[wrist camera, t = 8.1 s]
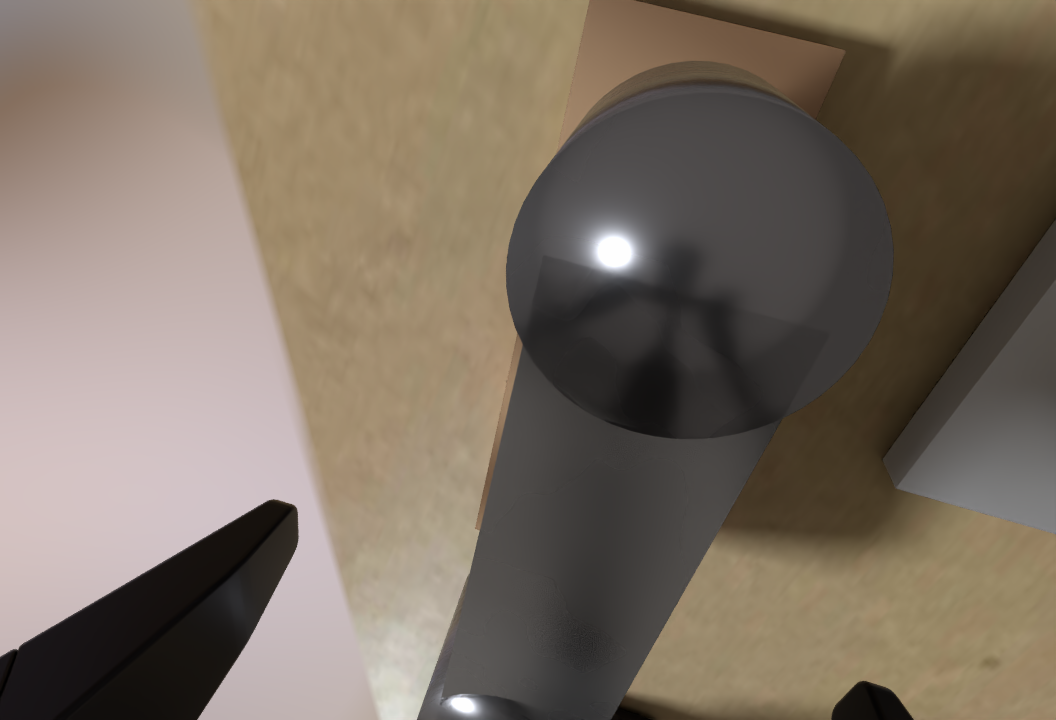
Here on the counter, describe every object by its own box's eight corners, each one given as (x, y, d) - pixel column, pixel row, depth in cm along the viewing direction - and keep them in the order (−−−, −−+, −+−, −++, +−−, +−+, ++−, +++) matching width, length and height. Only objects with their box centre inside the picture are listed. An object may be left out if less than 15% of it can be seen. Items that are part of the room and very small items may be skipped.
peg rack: (618, 544, 21) (605, 686, 17) (484, 503, 21) (436, 633, 17) (831, 47, 12) (921, 71, 8) (597, -9, 12) (559, -15, 8)
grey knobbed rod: (589, 30, 8) (547, 44, 5) (871, 98, 8) (985, 155, 5) (454, 627, 17) (408, 761, 14) (592, 671, 16) (575, 817, 13)
